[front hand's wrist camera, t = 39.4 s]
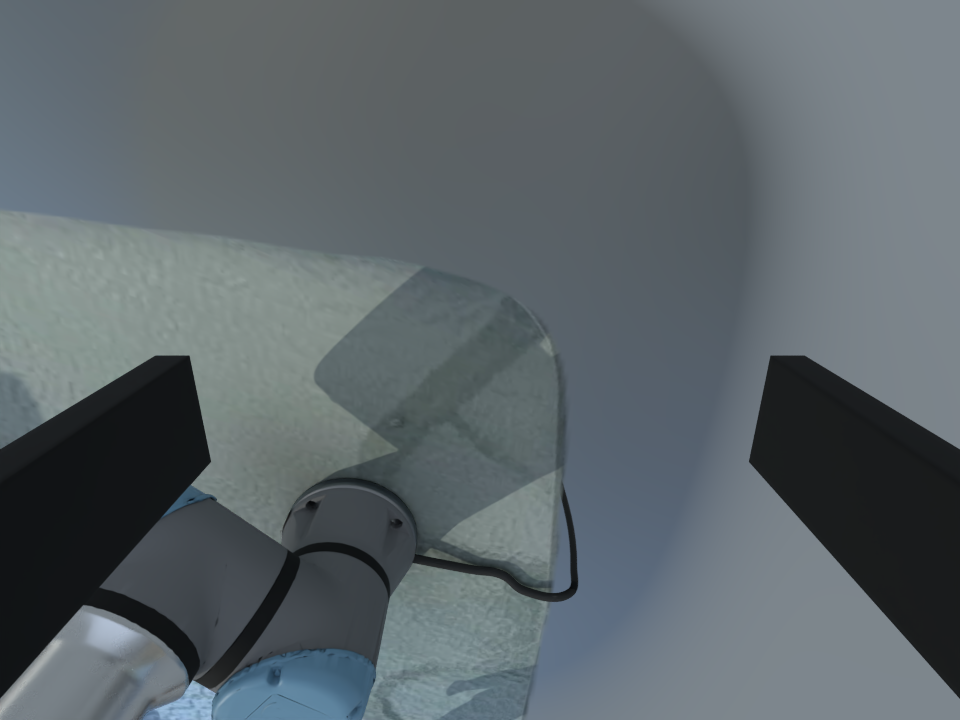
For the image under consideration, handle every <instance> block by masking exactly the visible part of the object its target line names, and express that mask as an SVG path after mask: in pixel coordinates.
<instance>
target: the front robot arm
mask: <svg viewBox="0 0 960 720" xmlns="http://www.w3.org/2000/svg"><path fill="white" fill-rule="evenodd" d="M210 462H211V459H210V454H209V449H208V444H207V440H206V435H205V430H204V425H203V420H202V415H201V410H200V405H199V400H198V395H197V390H196V386H195V381H194V376H193V371H192V366H191V361H190V356H154V357H152V358H151V359H149V360H147V361H146V362H144V363H143V364H141V365H139V366H138V367H136V368H134V369H133V370H131V371H129V372H128V373H126V374H124V375H123V376H121V377H119V378H118V379H116V380H114V381H113V382H111V383H109V384H108V385H106V386H104V387H103V388H101V389H99V390H98V391H96V392H95V393H93V394H91V395H90V396H88V397H86V398H85V399H83V400H81V401H80V402H78V403H76V404H75V405H73V406H71V407H70V408H68V409H66V410H65V411H63V412H61V413H60V414H58V415H56V416H55V417H53V418H51V419H50V420H48V421H47V422H45V423H43V424H42V425H40V426H38V427H37V428H35V429H33V430H32V431H30V432H28V433H27V434H25V435H23V436H22V437H20V438H18V439H17V440H15V441H13V442H12V443H10V444H8V445H7V446H5V447H3V448H2V449H0V720H142V719H143V717H144V716H145V714H146V713H147V712H149V711H151V710H153V709H156V708H159V707H161V706H164V705H166V704H169V703H172V702H174V701H176V700H178V699H179V698H181V697H182V695H183V694H184V693H185V691H186V690H187V688H188V686H189V685H190V683H191V681H192V680H194V681H196V682H198V683H199V684H201V685H203V686H205V687H206V688H208V689H209V690H211V691H213V692H215V693H216V694H215V697H214V699H213V701H212V703H213V704H212V714H211V717H212V720H361V719H362V717H363V715H364V712H365V709H366V705H367V702H368V699H369V695H370V692H371V689H372V687H373V685H374V682H375V678H376V665H377V660H378V655H379V649H380V644H381V639H382V634H383V629H384V624H385V619H386V614H387V608H388V603H389V598H390V596H391V595H392V593H393V592H394V590H395V589H396V588H397V586H398V585H399V583H400V582H401V580H402V579H403V577H404V576H405V574H406V573H407V571H408V570H409V568H410V567H411V564H412V563H417V564H422V565H427V566H432V567H437V568H443V569H448V570H453V571H458V572H464V573H470V574H476V575H486V576H494V577H497V578H500V579H502V580H504V581H505V582H507V583H508V584H509V585H510V586H511V587H512V588H513V589H514V590H515V591H517V592H518V593H520V594H523V595H525V596H528V597H531V598H535V599H538V600H542V601H549V602H559V601H564V600H567V599H569V598H570V597H572V596H573V595H574V594H575V593H576V591H577V589H578V571H577V548H576V538H575V531H574V525H573V520H572V515H571V511H570V507H569V503H568V499H567V496H566V492H565V489H564V485H562V493H561V500H562V504H563V508H564V513H565V517H566V523H567V528H568V535H569V544H570V574H571V585H570V587H569V589H567V590H566V591H563V592H560V593H546V592H541V591H537V590H534V589H531V588H528V587H525V586H523V585H521V584H519V583H518V582H517V581H516V580H515V579H514V578H513V577H512V576H511V575H510V574H508V573H507V572H505V571H503V570H500V569H497V568H492V567H481V566H474V565H468V564H463V563H457V562H452V561H447V560H442V559H437V558H431V557H426V556H421V555H416V554H415V550H416V544H417V529H416V524H415V521H414V518H413V516H412V514H411V512H410V511H409V509H408V508H407V506H406V505H405V504H404V503H403V502H402V501H401V500H400V499H399V498H398V497H397V496H396V495H395V494H393V493H392V492H390V491H389V490H387V489H386V488H384V487H382V486H380V485H377V484H375V483H372V482H369V481H365V480H359V479H350V478H343V479H334V480H329V481H325V482H322V483H320V484H317V485H315V486H313V487H312V488H310V489H308V490H307V491H306V492H304V493H303V494H302V495H301V496H300V497H299V498H298V499H297V500H296V502H295V503H294V505H293V506H292V508H291V510H290V512H289V511H288V513H289V514H287V516H286V519H285V521H284V524H283V526H282V528H283V530H282V529H281V531H282V545H281V544H279V543H278V542H276V541H275V540H273V539H272V538H270V537H269V536H267V535H266V534H264V533H263V532H261V531H260V530H258V529H257V528H255V527H254V526H252V525H251V524H249V523H248V522H246V521H245V520H243V519H242V518H240V517H239V516H237V515H236V514H234V513H233V512H231V511H230V510H228V509H227V508H225V507H224V506H222V505H221V504H219V503H218V502H216V501H217V499H216V497H214V496H213V495H209V494H205V493H203V492H201V491H200V490H198V489H196V488H195V487H193V486H191V484H192V483H193V481H194V480H195V479H196V478H197V477H198V476H199V475H200V474H201V472H202V471H203V470H204V469H205V468H206V467H207V466H208V465H209V463H210ZM749 462H750V463H751V465H752V466H753V467H754V468H755V469H756V470H757V471H758V472H759V474H760V475H761V476H762V477H763V478H764V479H765V480H766V481H767V483H768V484H769V485H770V486H771V487H772V488H773V489H774V490H775V492H776V493H777V494H778V495H779V496H780V497H781V498H782V499H783V501H784V502H785V503H786V504H787V505H788V506H789V507H790V508H791V510H792V511H793V512H794V513H795V514H796V515H797V516H798V517H799V518H800V520H801V521H802V522H803V523H804V524H805V525H806V526H807V527H808V529H809V530H810V531H811V532H812V533H813V534H814V535H815V536H816V538H817V539H818V540H819V541H820V542H821V543H822V544H823V545H824V547H825V548H826V549H827V550H828V551H829V552H830V553H831V554H832V556H833V557H834V558H835V559H836V560H837V561H838V562H839V563H840V565H841V566H842V567H843V568H844V569H845V570H846V571H847V572H848V574H849V575H850V576H851V577H852V578H853V579H854V580H855V581H856V583H857V584H858V585H859V586H860V587H861V588H862V589H863V590H864V592H865V593H866V594H867V595H868V596H869V597H870V598H871V599H872V601H873V602H874V603H875V604H876V605H877V606H878V607H879V608H880V610H881V611H882V612H883V613H884V614H885V615H886V616H887V617H888V619H889V620H890V621H891V622H892V623H893V624H894V625H895V626H896V627H897V629H898V630H899V631H900V632H901V633H902V634H903V635H904V636H905V638H906V639H907V640H908V641H909V642H910V643H911V644H912V645H913V647H914V648H915V649H916V650H917V651H918V652H919V653H920V654H921V656H922V657H923V658H924V659H925V660H926V661H927V662H928V663H929V665H930V666H931V667H932V668H933V669H934V670H935V671H936V672H937V674H938V675H939V676H940V677H941V678H942V679H943V680H944V681H945V682H946V684H947V685H948V686H949V687H950V688H951V689H952V690H953V691H954V693H955V694H956V695H957V696H958V697H959V698H960V449H958V448H956V447H955V446H953V445H952V444H950V443H948V442H947V441H945V440H943V439H942V438H940V437H938V436H937V435H935V434H933V433H932V432H930V431H928V430H927V429H925V428H923V427H922V426H920V425H918V424H917V423H915V422H913V421H912V420H910V419H909V418H907V417H905V416H904V415H902V414H900V413H899V412H897V411H895V410H894V409H892V408H890V407H889V406H887V405H885V404H884V403H882V402H880V401H879V400H877V399H875V398H874V397H872V396H870V395H869V394H867V393H865V392H864V391H862V390H861V389H859V388H857V387H856V386H854V385H852V384H851V383H849V382H847V381H846V380H844V379H842V378H841V377H839V376H837V375H836V374H834V373H832V372H831V371H829V370H827V369H826V368H824V367H822V366H821V365H819V364H817V363H816V362H814V361H812V360H811V359H809V358H808V357H806V356H770V361H769V366H768V371H767V376H766V381H765V386H764V390H763V395H762V400H761V405H760V410H759V415H758V420H757V425H756V430H755V435H754V440H753V445H752V449H751V454H750V459H749ZM280 533H281V532H280Z"/></svg>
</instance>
